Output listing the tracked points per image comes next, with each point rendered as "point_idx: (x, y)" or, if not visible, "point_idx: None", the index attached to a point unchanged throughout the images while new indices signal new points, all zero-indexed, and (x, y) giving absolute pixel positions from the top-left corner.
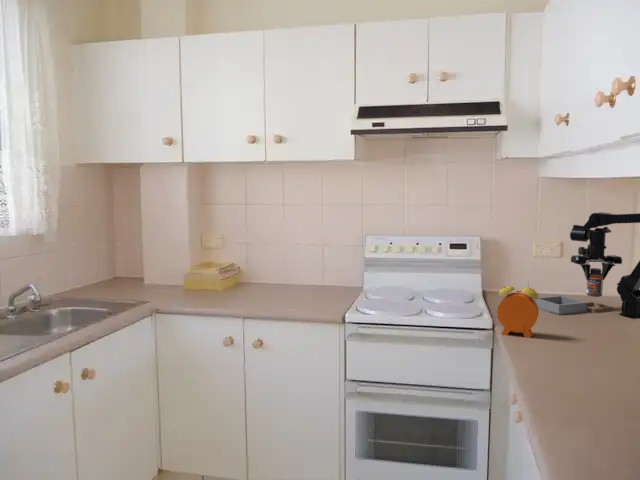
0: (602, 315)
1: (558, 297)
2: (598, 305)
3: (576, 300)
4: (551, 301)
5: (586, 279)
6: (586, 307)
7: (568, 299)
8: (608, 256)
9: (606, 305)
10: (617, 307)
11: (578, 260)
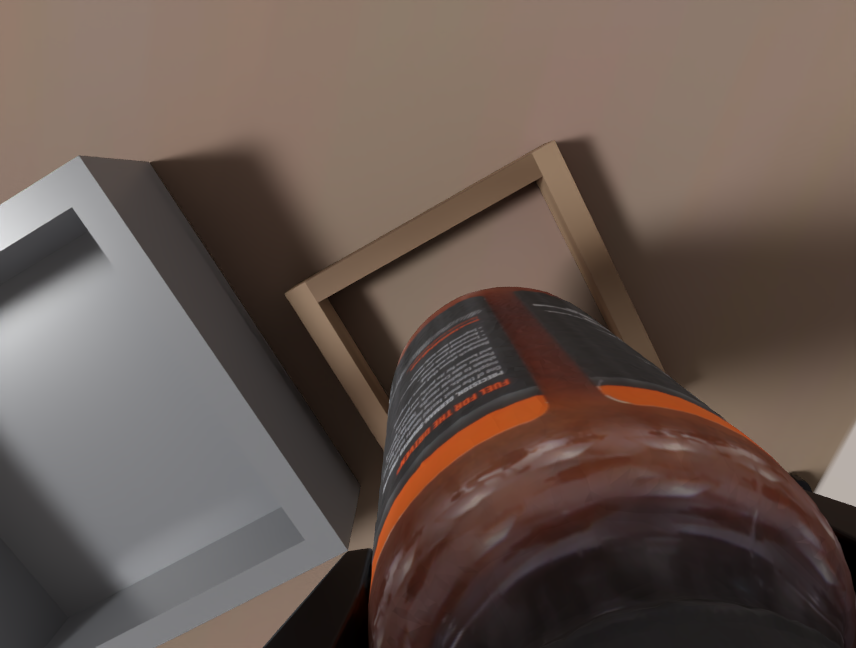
0: None
1: (42, 230)
2: (572, 244)
3: (246, 456)
4: None
5: (345, 556)
6: (378, 438)
7: (171, 331)
8: None
9: (641, 322)
10: (792, 208)
11: None
